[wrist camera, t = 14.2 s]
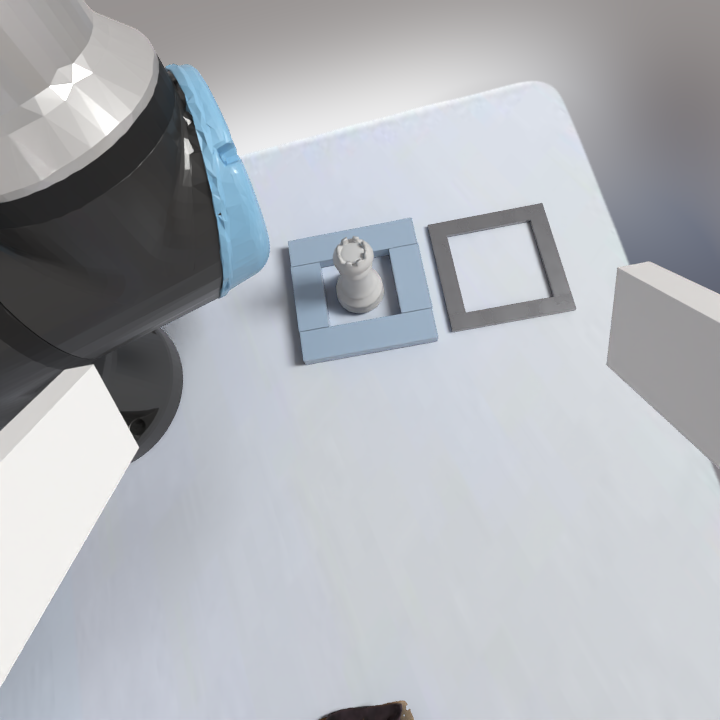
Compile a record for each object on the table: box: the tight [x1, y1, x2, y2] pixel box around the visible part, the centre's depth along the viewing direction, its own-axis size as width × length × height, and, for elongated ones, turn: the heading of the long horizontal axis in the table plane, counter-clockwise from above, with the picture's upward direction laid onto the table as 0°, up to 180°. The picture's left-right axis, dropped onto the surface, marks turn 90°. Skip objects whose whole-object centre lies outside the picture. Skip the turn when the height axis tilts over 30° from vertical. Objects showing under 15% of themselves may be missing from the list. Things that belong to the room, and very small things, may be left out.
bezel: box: [428, 203, 576, 332], centre depth 41 cm, size 11×11×1 cm
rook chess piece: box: [333, 236, 384, 314], centre depth 38 cm, size 4×4×8 cm
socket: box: [288, 218, 438, 365], centre depth 41 cm, size 12×12×1 cm
